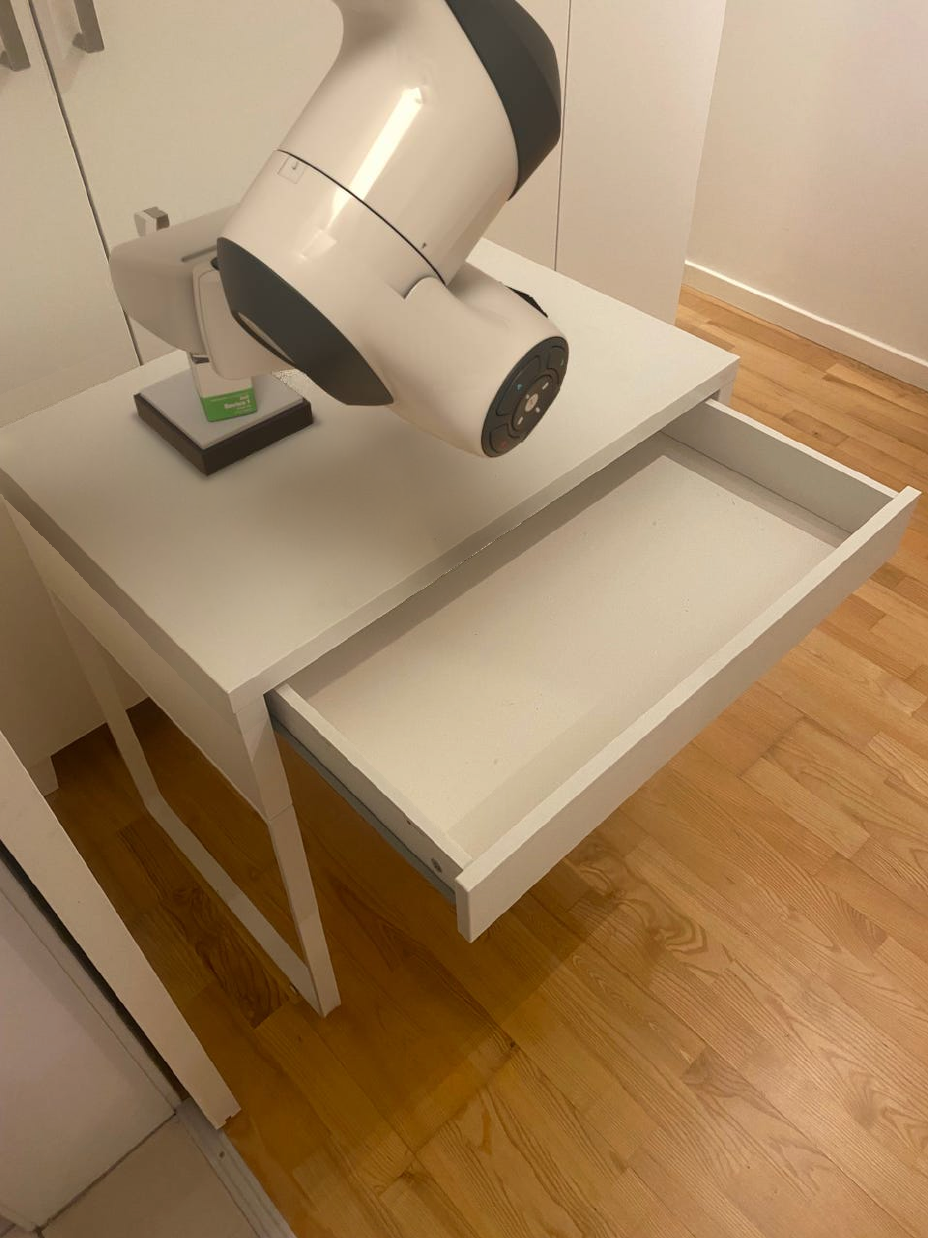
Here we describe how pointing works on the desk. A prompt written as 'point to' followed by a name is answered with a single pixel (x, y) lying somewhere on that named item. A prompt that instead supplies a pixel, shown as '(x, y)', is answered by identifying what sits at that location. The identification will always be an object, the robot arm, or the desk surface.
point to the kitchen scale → (226, 440)
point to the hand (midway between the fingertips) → (209, 198)
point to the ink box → (220, 391)
